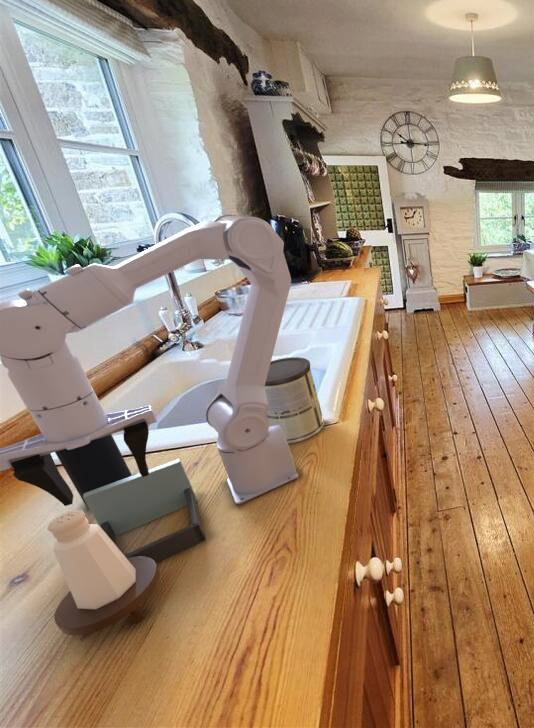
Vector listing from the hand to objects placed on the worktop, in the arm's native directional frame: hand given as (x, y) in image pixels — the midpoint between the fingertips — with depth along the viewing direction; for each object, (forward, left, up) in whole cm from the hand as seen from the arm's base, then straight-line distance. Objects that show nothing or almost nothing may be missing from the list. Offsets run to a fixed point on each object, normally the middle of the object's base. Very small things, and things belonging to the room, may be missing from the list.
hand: (108, 486), depth 55 cm
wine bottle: (+3, -16, -11) cm, 19 cm away
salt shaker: (+2, +12, -7) cm, 14 cm away
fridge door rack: (-2, +1, -10) cm, 11 cm away
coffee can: (-26, -14, -11) cm, 31 cm away
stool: (+2, +12, -10) cm, 16 cm away
